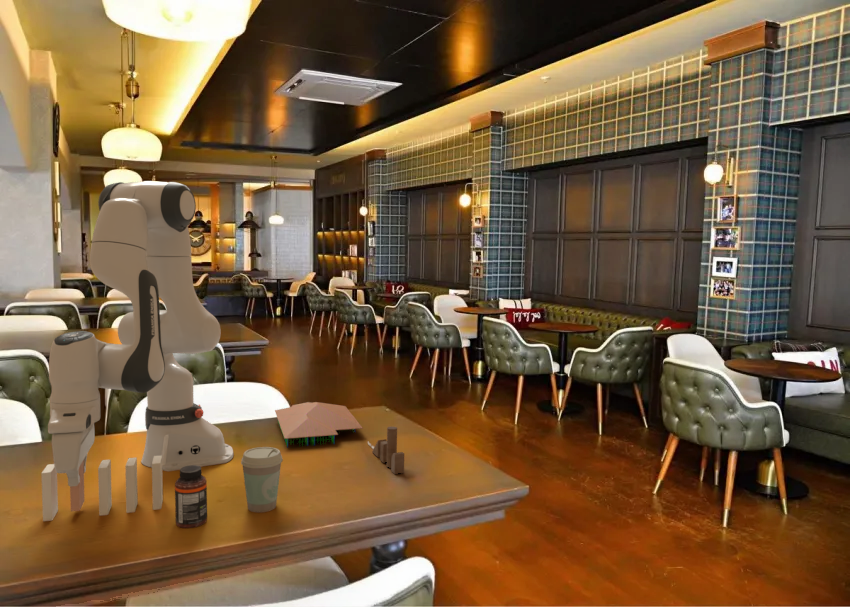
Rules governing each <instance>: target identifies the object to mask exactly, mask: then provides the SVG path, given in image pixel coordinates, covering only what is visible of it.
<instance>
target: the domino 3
mask: <svg viewBox="0 0 850 607" xmlns="http://www.w3.org/2000/svg"><path fill="white" fill-rule="evenodd" d="M137 463H138V457H128V459H127V461H126V464H125V502H126V503H125V505H126V506H125V507H126V508H125V509H126V510H125V512H126V513H127V514H129V513H135V512H136V509H137V505H138V464H137Z"/></svg>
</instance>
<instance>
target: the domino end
mask: <svg viewBox="0 0 850 607" xmlns="http://www.w3.org/2000/svg"><path fill="white" fill-rule="evenodd" d="M58 497H59V494H58V473H57V472H56V469H55V466H54V463H52V464H51V463H50V464H48V463H47V465H46V466H45V467H44V469H43V470H42V472H41V501H42V522H49V521H50V522H51V521H53V520H54V518H55V516H56V515H57V513H58V512H59V505H58V504H59V502H58V501H59V498H58Z"/></svg>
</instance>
